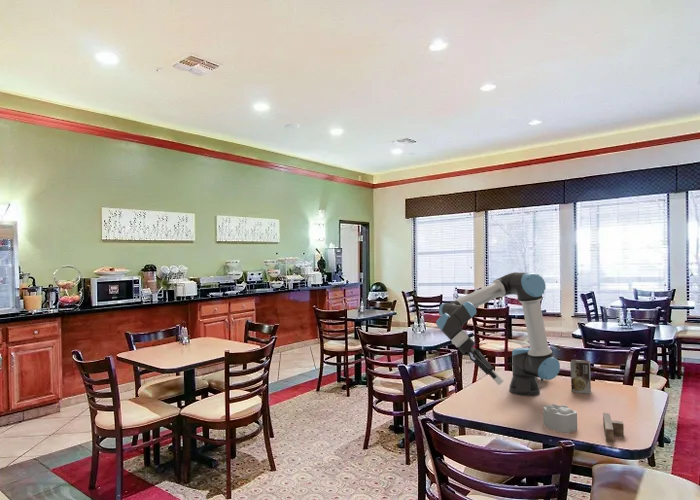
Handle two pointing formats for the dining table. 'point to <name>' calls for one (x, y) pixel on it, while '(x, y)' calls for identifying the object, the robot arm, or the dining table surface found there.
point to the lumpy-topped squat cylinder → (560, 418)
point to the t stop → (612, 427)
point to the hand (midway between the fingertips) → (501, 383)
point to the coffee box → (580, 376)
